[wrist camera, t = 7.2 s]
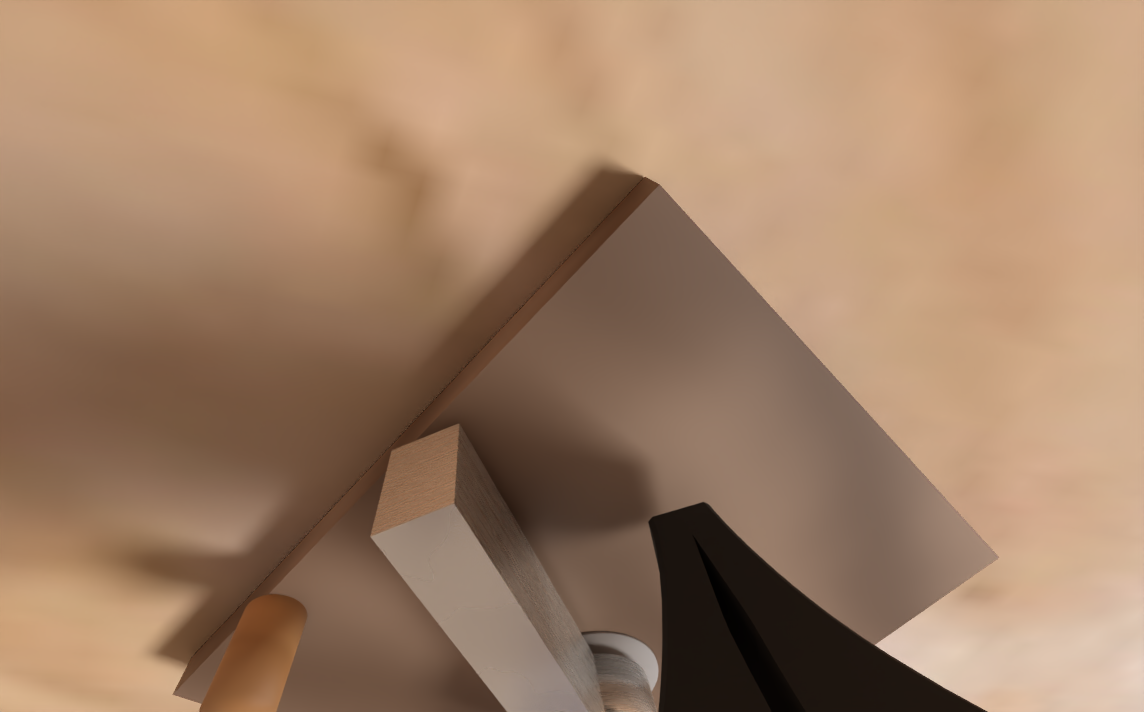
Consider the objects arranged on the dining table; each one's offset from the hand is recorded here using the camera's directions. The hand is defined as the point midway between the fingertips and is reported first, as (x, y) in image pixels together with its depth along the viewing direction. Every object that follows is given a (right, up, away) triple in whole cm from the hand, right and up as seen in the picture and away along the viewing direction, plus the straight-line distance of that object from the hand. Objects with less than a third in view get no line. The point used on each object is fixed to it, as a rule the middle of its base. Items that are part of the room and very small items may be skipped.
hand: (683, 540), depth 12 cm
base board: (-1, -3, +4) cm, 5 cm away
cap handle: (-3, -2, +1) cm, 4 cm away
